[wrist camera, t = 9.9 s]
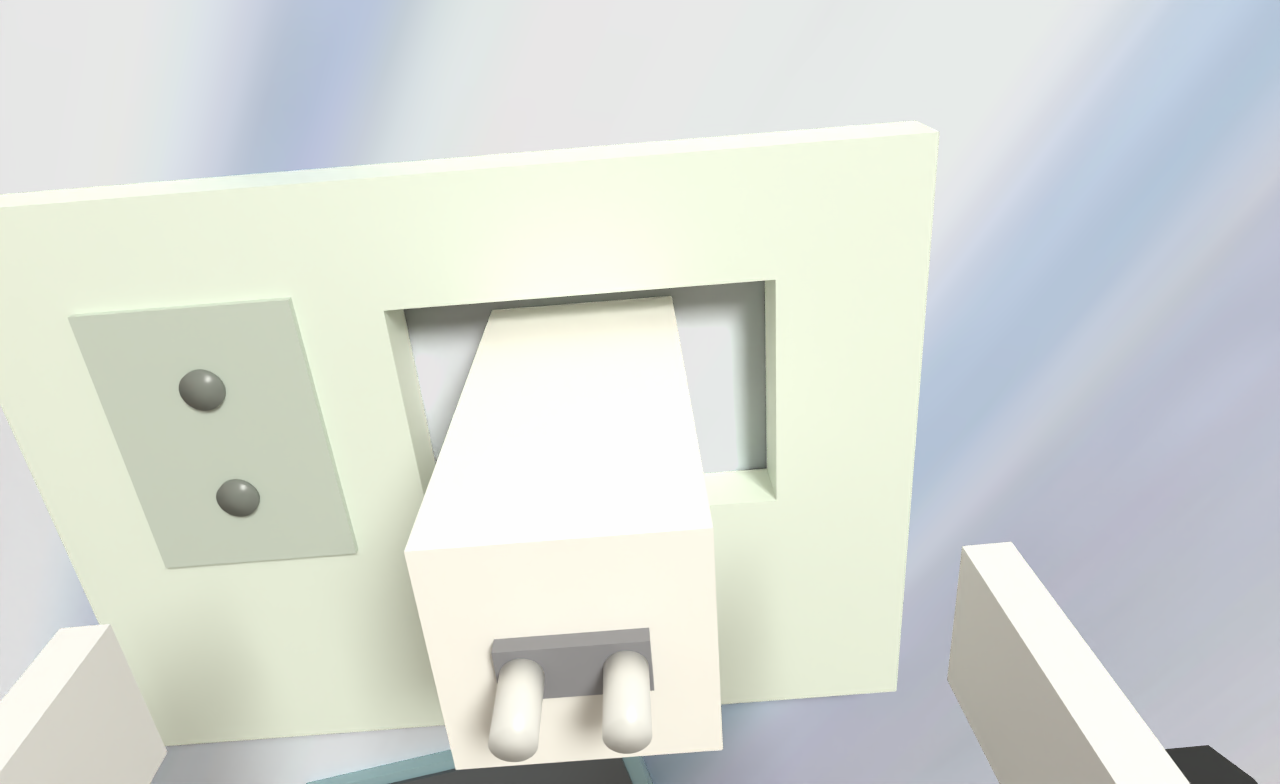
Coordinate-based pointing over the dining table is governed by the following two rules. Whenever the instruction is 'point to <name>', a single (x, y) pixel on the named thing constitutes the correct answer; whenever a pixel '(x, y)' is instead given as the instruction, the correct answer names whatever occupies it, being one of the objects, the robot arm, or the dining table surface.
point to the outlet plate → (394, 412)
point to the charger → (571, 545)
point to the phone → (499, 772)
